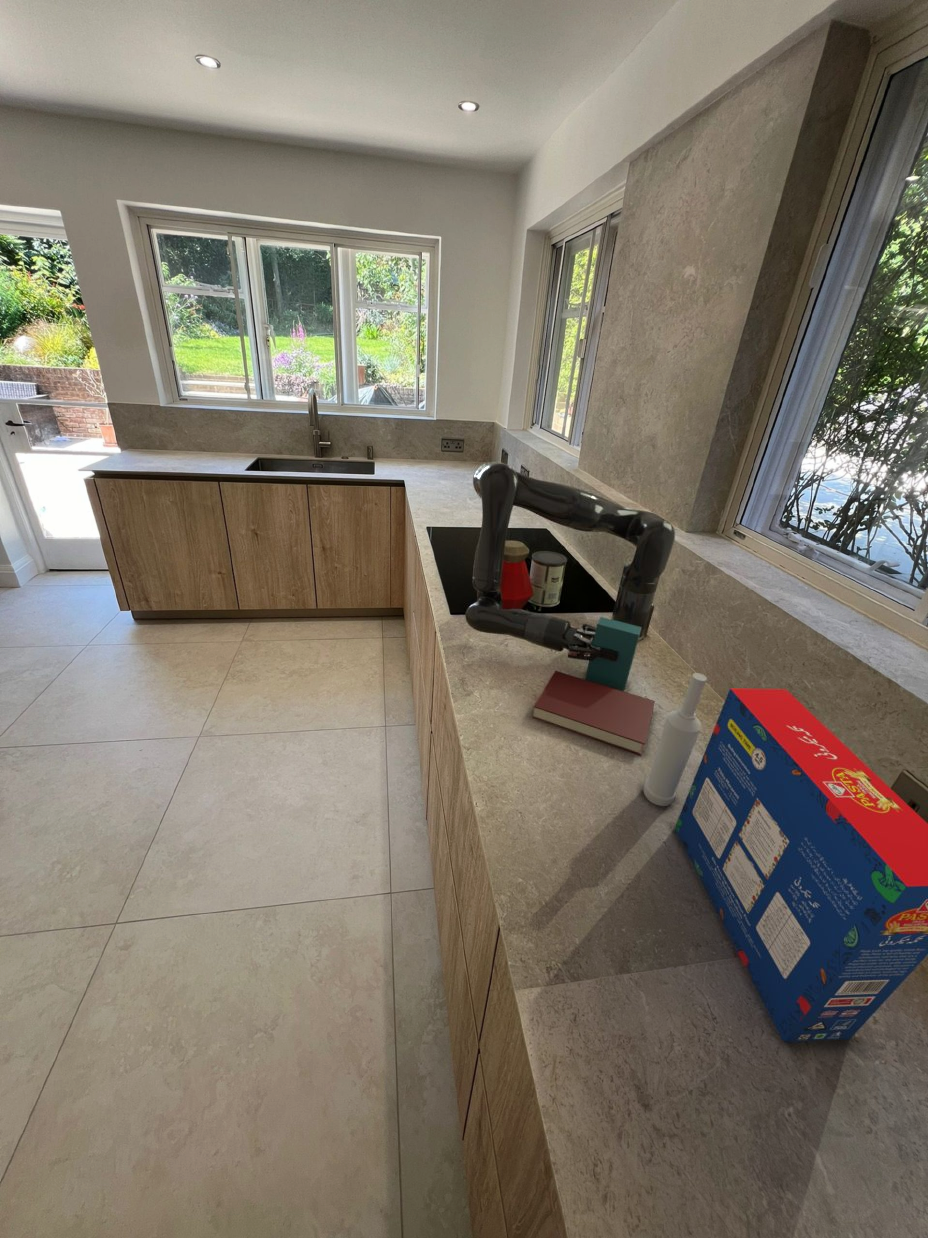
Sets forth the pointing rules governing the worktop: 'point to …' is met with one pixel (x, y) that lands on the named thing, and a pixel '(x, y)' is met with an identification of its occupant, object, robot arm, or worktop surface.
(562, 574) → the coffee can
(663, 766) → the bottle
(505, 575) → the red lidded jar
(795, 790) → the pasta box
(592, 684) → the oxblood cookbook
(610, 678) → the teal rectangular block
